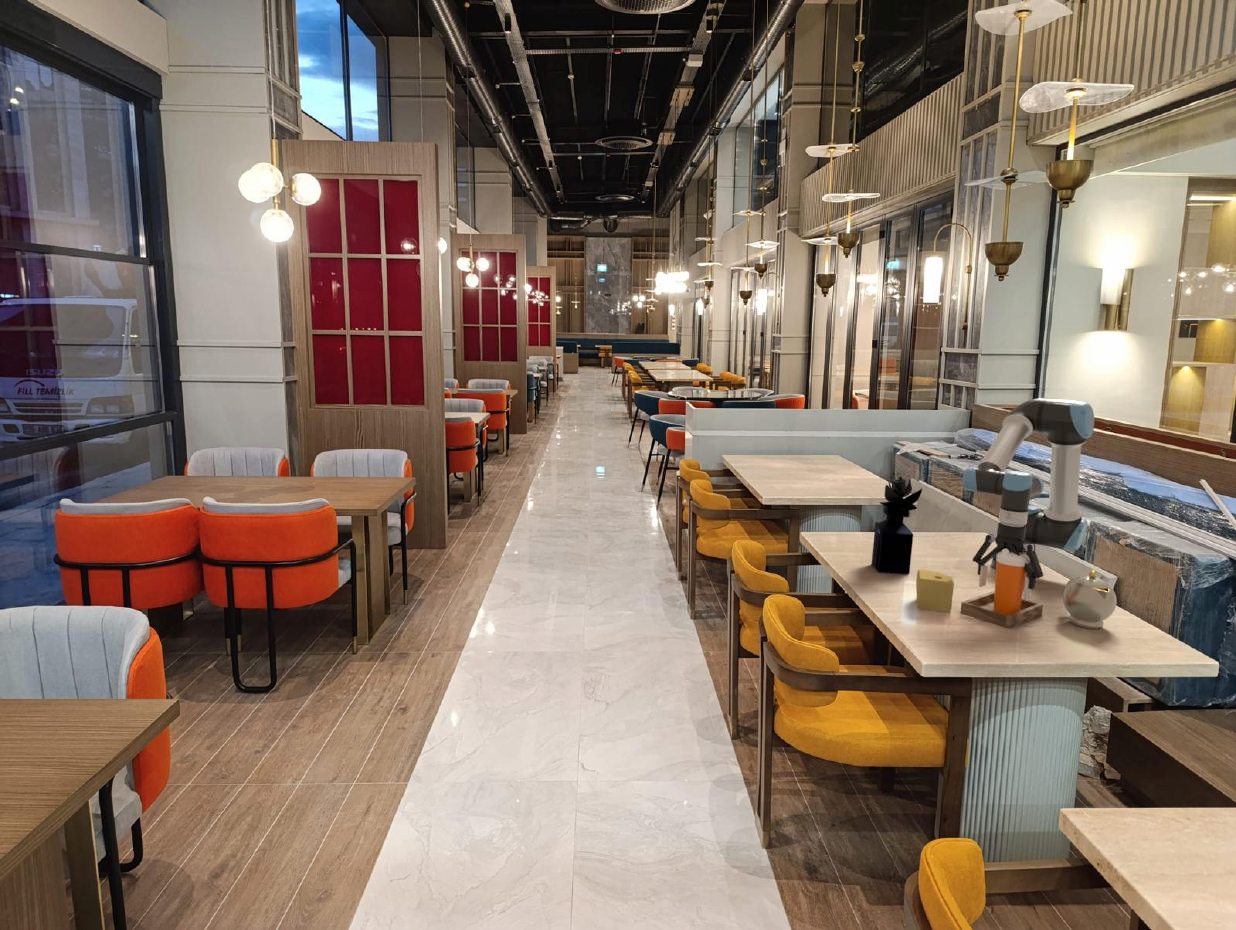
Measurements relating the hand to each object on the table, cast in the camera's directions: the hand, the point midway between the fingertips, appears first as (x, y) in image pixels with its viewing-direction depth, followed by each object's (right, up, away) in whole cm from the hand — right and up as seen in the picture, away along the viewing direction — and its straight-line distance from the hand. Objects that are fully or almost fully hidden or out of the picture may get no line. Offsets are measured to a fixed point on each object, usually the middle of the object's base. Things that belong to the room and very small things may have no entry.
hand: (1003, 592), depth 240 cm
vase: (-19, +1, +44) cm, 48 cm away
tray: (0, -7, +1) cm, 7 cm away
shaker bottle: (+1, -6, 0) cm, 6 cm away
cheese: (-19, -6, +7) cm, 21 cm away
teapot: (+22, -9, -3) cm, 24 cm away
